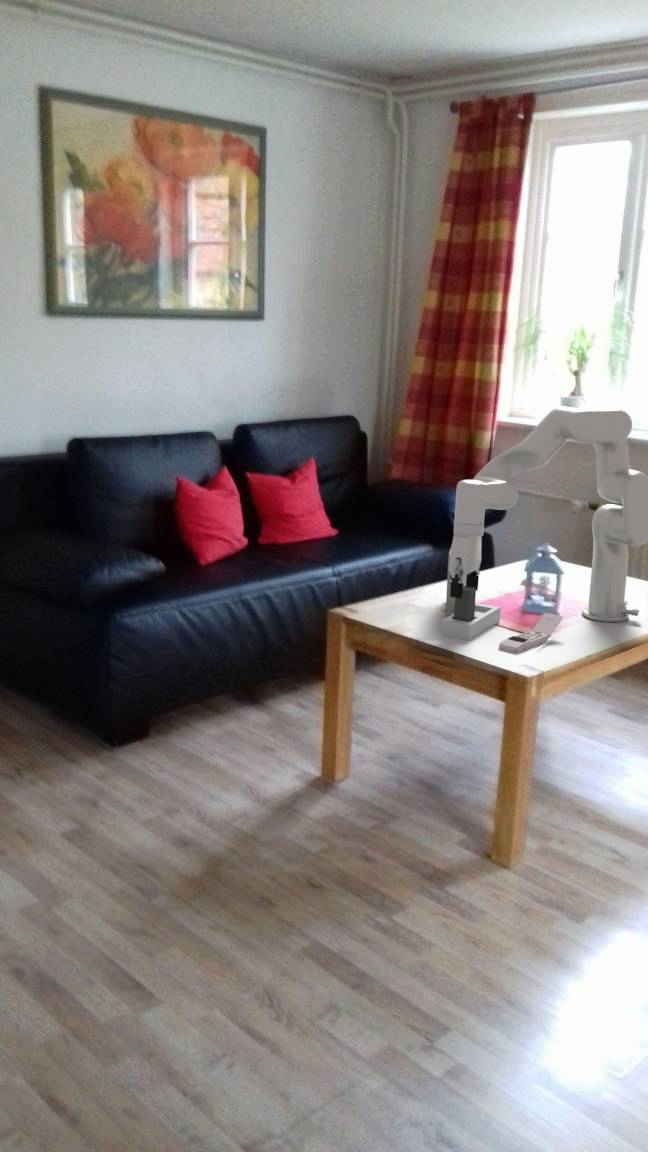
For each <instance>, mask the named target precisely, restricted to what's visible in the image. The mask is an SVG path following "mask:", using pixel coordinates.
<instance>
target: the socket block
mask: <svg viewBox="0 0 648 1152" xmlns="http://www.w3.org/2000/svg"><path fill="white" fill-rule="evenodd" d="M501 609H502V608H501V606H495V605H492V604H490V605H489V604H485V603H480V602H479V603H478V602H475V615H474V620H472V621H471V622H466V621H460V620H455V619H454V613H453V614H452V615H450V616H448V617H446V616H445V617H444V618H442V620H441V630H440V634H441V636H445V637H451V638H454V639H455V638H456V639H460V640H466V641H471V640H473V639H474V638H476V637H477V636H479V635H480V634H482V633H484V632H485V631H487V630H489V629H490V628H492V627H493V626H495V625H497V624H498V623H500V621H501V620H500V619H501Z"/></svg>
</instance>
